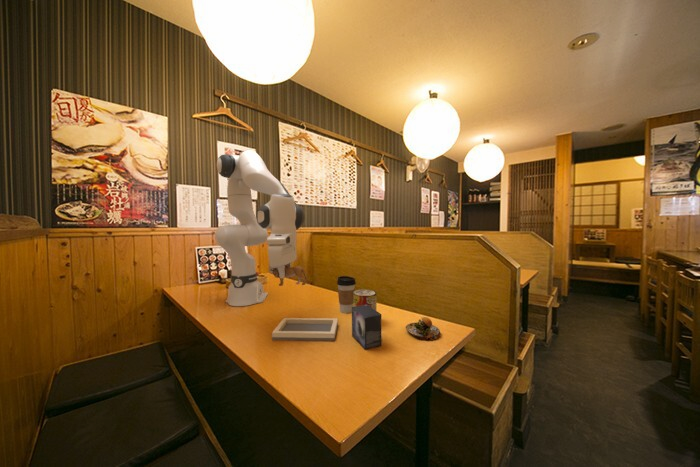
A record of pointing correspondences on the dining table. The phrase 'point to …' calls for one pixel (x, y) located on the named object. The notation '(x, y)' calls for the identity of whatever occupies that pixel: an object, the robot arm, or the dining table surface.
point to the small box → (366, 326)
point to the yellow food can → (365, 298)
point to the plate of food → (424, 329)
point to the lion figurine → (290, 274)
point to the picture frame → (306, 329)
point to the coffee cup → (346, 293)
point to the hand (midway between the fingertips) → (285, 276)
